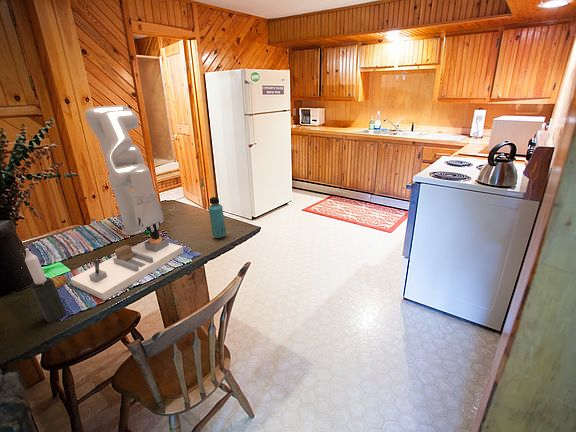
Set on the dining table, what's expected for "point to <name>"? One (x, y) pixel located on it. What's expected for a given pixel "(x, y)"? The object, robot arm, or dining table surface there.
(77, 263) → the dining table surface
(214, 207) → the beverage bottle
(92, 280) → the control panel
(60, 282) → the pastry
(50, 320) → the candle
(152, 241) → the push button
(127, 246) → the slider knob
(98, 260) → the toggle lever
